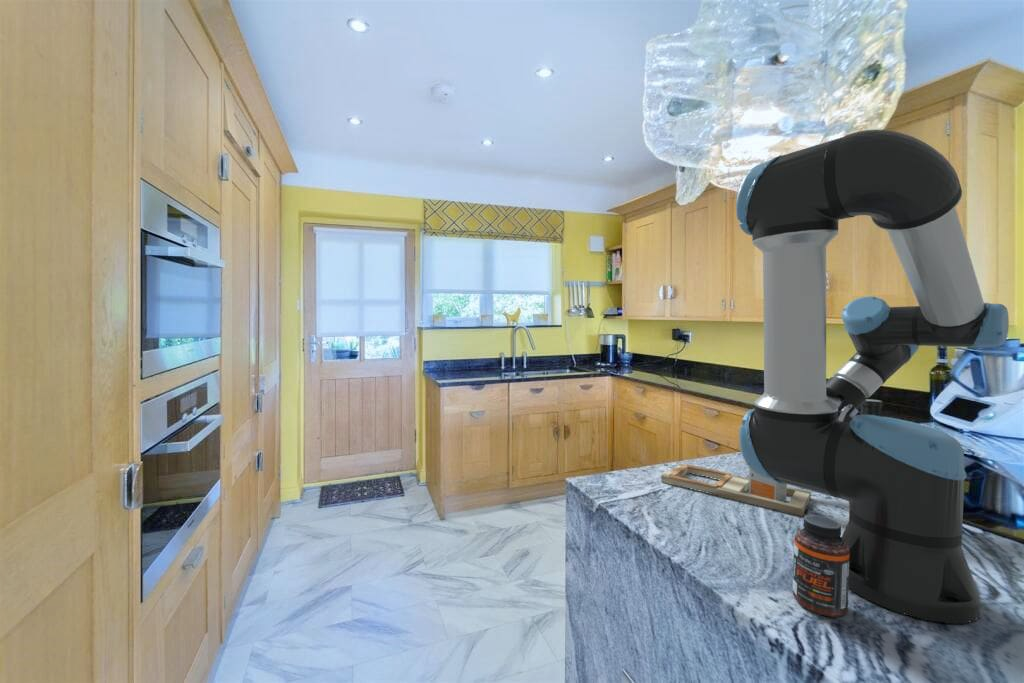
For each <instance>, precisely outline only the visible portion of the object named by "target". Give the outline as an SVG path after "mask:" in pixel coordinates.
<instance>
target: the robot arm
mask: <svg viewBox="0 0 1024 683" xmlns="http://www.w3.org/2000/svg"><path fill="white" fill-rule="evenodd" d="M962 198H963V189H962V186H961V182H960V179H959V176H958V173H957V171H956V170H955V168H954V167H953V165H952V164H951V163H950V161H949V160H948V159H947V158H946V157H945V156H944V155H943V154H942V153H941V152H939V151H938V150H937V149H935V148H934V147H932V146H931V145H930V144H927V142H925V141H922V140H920V139H919V138H917V137H915V136H912V135H909V134H905V133H903V132H898V131H894V130H887V129H867V130H866V129H865V130H859V131H855V132H852V133H849V134H845V135H844V136H842V137H839V138H838V137H837V138H834V139H832V140H828V141H825V142H822V143H819V144H816V145H812V146H809V147H805V148H802V149H799V150H796V151H793V152H789V153H785V154H783V155H782V154H781V155H778V156H775V157H773V158H772V159H770V160H767V161H764V162H762V163H759V164H756V165H755V166H753V167H752V168H751V169H750V170H749V171H748V172H747V174H746V175H745V176H744V177H743V178H742V180H741V182H740V185H739V188H738V191H737V196H736V202H735V203H736V204H735V206H736V207H735V211H736V212H735V213H736V219H737V220H738V221H739V224H738V225H739V227H740V229H741V230H742V231H743V233H745V235H746V234H747V235H748V236H752V242H751V243H752V245H754V246H755V247H756V248H757V249H758V250H760V251H761V252H762V274H763V275H762V278H763V279H762V280H763V281H762V283H763V284H762V288H763V293H762V294H763V295H762V296H763V298H762V299H763V381H764V382H763V384H764V386H763V391H764V392H763V393H762V394H761V395H760V396H759V397H758V398H757V399H755V400H754V404H753V406H754V408H752V409H749V410H748V411H746V413H745V414H744V415H743V417H742V420H741V423H742V425H740V426H739V430H738V431H739V432H738V433H739V435H738V440H739V447H740V452H741V456H742V457H743V459H744V461H745V463H746V465H747V466H748V468H749V467H750V468H751V469H752V470H753V471H754V472H755V473H757V474H759V475H761V476H764V477H767V478H770V479H773V480H774V481H776V482H778V483H783V484H787V485H788V486H789V485H790V486H793V487H795V488H796V487H797V488H799V489H802V490H806V491H810V492H815V493H819V494H822V495H826V496H829V497H832V498H833V497H834V498H837V499H841V500H844V501H847V502H848V504H849V505H848V509H849V510H848V522H847V525H846V527H845V529H844V531H843V533H842V534H841V536H840V537H841V538H842V539H843V540H844V541H845V542H846V543H847V544H848V546H849V550H850V554H849V582H848V590H851V591H853V592H854V593H855V594H857V595H859V596H861V597H862V598H864V599H866V600H868V601H870V602H872V603H875V604H877V605H879V606H881V607H883V608H886V609H888V610H891V611H893V610H894V612H896V611H898V612H897V613H899V612H901V613H900V614H902V613H905V614H907V615H906V616H908V615H911V616H910V617H912V616H914V617H913V618H915V617H917V618H916V619H919V618H922V619H921V620H924V619H926V620H925V621H928V620H932V621H931V622H934V621H939V622H938V623H940V622H945V623H944V624H949V623H950V625H951V623H955V624H954V625H956V624H957V623H963V624H966V623H965V622H969V621H973V620H975V619H976V618H978V617H980V616H979V615H981V595H980V592H979V589H978V586H977V585H976V581H975V579H974V576H973V574H972V571H971V568H970V566H969V564H968V561H967V559H966V557H965V553H964V550H963V520H964V519H963V517H964V498H965V497H964V493H965V491H964V490H965V479H967V472H966V470H965V459H964V458H965V455H964V448H963V446H962V444H961V443H960V441H958V440H957V438H955V437H954V436H953V435H950V434H949V433H947V432H944V431H942V430H939V429H937V428H935V427H931V426H928V425H924V424H920V423H917V422H914V421H909V420H903V419H901V418H896V417H895V418H894V417H888V416H881V417H880V416H875V415H861V411H859V410H858V409H859V408H861V405H862V404H863V403H864V402H865V401H866V399H868V398H870V397H871V396H872V395H873V394H874V393H875V392H876V391H877V390H878V389H879V388H880V387H881V386H882V385H884V384H885V383H886V382H887V380H888V379H890V378H891V377H892V376H893V375H895V373H896V372H897V371H899V370H900V368H902V367H903V366H904V365H906V364H907V363H908V362H909V361H910V360H911V359H912V357H913V356H914V355H915V354H916V353H917V352H918V350H919V349H920V346H921V347H922V346H923V347H924V346H925V347H927V346H928V347H929V346H930V347H953V348H954V347H959V348H968V349H969V348H971V349H972V348H993V347H994V348H996V347H1000V346H1001V345H1004V343H1005V342H1006V340H1007V338H1008V334H1009V324H1010V321H1009V320H1010V319H1009V311H1008V308H1007V307H1006V305H1004V304H1002V303H990V302H984V298H983V295H982V292H981V288H980V285H979V281H978V279H977V278H978V277H977V275H976V271H975V268H974V265H973V261H972V259H971V255H970V251H969V248H968V246H967V241H966V239H965V234H964V232H963V229H962V226H961V222H960V218H959V216H958V215H959V214H958V211H957V209H956V207H957V206H958V205H959V203H960V202H961V200H962ZM857 216H858V217H859V216H869V217H871V220H872V222H873V224H875V226H876V227H878V228H880V229H882V230H886V232H887V234H888V237H889V240H890V241H891V243H892V246H893V248H894V250H895V253H896V255H897V257H898V260H899V262H900V264H901V266H902V269H903V271H904V273H905V277H906V278H907V281H908V282H909V286H910V287H911V290H912V292H913V294H914V296H915V298H916V302H917V303H918V305H913V306H910V305H909V306H890V305H888V303H887V302H886V301H885V300H884V299H883V298H879V297H876V296H863V297H859V298H856V299H853V300H851V301H849V303H847V304H846V305H845V307H844V308H843V309H842V310H841V318H842V322H843V325H844V330H845V331H846V332H847V335H848V337H849V338H850V340H851V341H852V345H853V346H854V348H855V350H856V353H854V354H853V355H852V357H850V358H849V359H848V360H847V361H846V362H845V363H844V364H843V365H842V366H841V367H840V368H839V369H838V370H837V371H835V372H834V374H833V376H831V377H830V378H828V379H827V247H828V245H829V244H830V243H831V241H833V239H835V238H836V237H837V236H838V235H839V221H841V220H845V219H851V218H855V217H857ZM905 614H904V615H905ZM978 619H979V618H978ZM976 620H977V619H976ZM976 620H975V621H976ZM973 622H974V621H973ZM969 623H970V622H969ZM957 625H958V624H957Z"/></svg>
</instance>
